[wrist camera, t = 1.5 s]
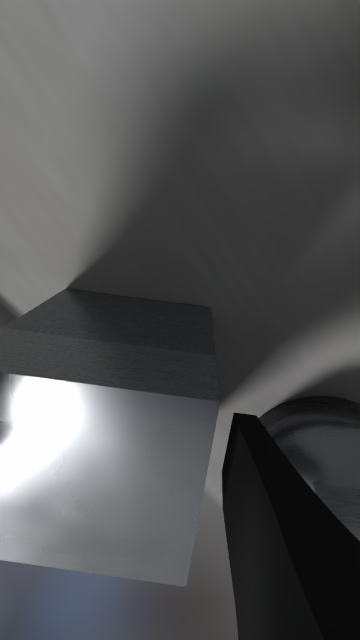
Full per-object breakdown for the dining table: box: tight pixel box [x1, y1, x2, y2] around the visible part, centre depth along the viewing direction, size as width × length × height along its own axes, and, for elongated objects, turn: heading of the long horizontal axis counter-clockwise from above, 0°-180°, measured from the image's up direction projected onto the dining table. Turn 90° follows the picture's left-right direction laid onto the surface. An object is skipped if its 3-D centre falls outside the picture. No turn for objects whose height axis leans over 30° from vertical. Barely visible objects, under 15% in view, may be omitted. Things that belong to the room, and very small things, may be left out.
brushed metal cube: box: [0, 289, 220, 587], centre depth 10 cm, size 5×5×6 cm
